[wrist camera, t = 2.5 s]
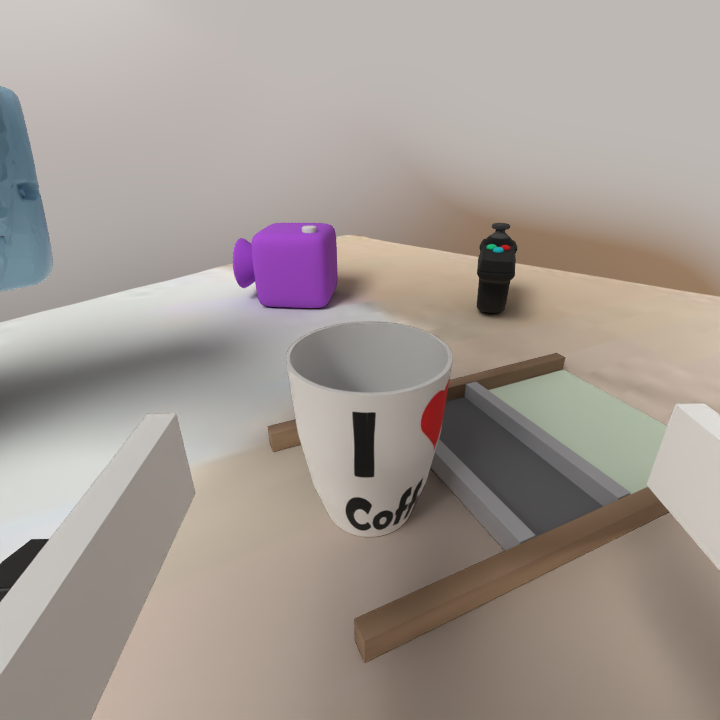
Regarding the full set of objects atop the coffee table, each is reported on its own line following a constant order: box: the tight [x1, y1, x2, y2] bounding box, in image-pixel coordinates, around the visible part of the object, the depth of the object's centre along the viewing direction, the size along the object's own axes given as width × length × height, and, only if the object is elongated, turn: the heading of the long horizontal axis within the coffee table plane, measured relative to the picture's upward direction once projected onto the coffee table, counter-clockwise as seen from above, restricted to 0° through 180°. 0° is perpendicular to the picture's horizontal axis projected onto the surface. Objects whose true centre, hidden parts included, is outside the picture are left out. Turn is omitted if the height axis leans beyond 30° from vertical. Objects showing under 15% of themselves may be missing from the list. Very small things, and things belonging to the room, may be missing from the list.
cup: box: [286, 322, 453, 537], centre depth 24 cm, size 8×8×10 cm
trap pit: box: [431, 382, 631, 551], centre depth 29 cm, size 14×8×2 cm, turn 24°
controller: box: [477, 223, 517, 313], centre depth 51 cm, size 4×12×10 cm, turn 163°
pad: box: [488, 370, 667, 494], centre depth 32 cm, size 14×10×1 cm
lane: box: [268, 353, 669, 663], centre depth 29 cm, size 16×27×2 cm, turn 114°
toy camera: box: [233, 223, 337, 308], centre depth 57 cm, size 11×14×10 cm
